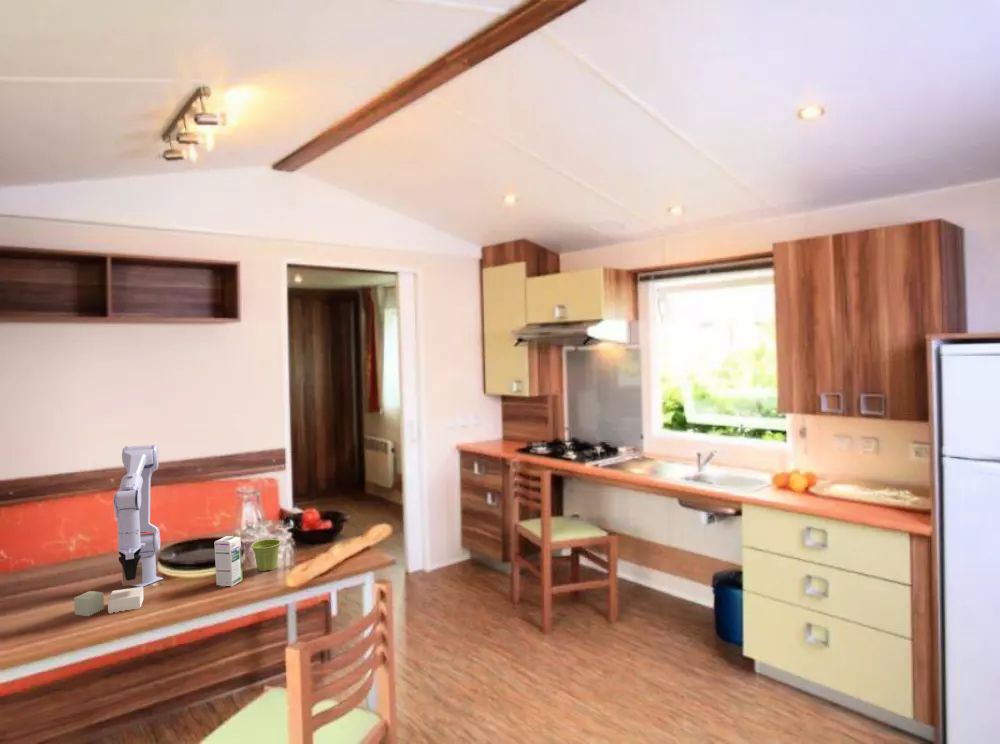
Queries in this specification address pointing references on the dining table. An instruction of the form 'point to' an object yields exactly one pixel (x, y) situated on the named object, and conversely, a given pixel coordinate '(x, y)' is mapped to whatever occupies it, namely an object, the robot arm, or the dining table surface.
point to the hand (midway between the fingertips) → (130, 576)
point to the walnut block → (137, 579)
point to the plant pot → (266, 554)
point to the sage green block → (89, 603)
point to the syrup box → (228, 561)
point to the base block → (125, 599)
